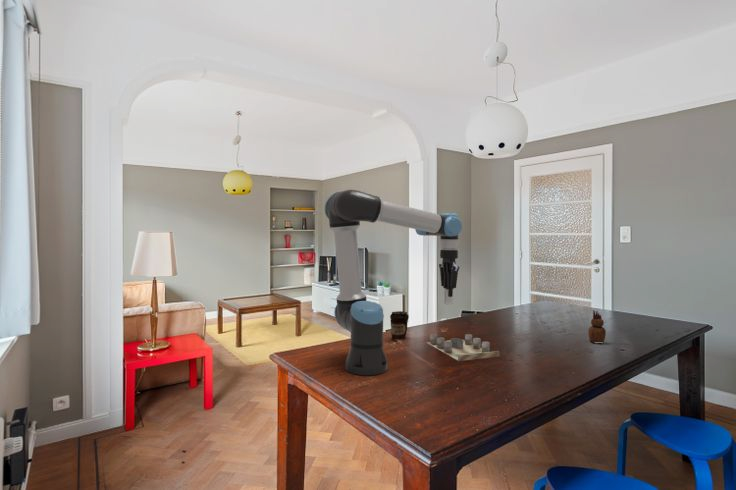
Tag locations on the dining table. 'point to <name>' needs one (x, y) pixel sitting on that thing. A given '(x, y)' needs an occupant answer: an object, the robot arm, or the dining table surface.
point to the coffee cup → (398, 325)
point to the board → (467, 351)
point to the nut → (457, 343)
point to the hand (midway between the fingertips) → (448, 303)
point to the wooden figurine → (597, 329)
